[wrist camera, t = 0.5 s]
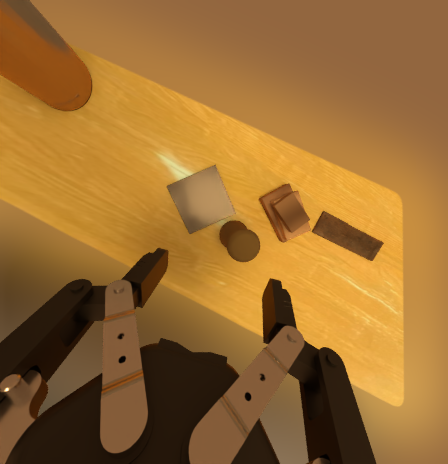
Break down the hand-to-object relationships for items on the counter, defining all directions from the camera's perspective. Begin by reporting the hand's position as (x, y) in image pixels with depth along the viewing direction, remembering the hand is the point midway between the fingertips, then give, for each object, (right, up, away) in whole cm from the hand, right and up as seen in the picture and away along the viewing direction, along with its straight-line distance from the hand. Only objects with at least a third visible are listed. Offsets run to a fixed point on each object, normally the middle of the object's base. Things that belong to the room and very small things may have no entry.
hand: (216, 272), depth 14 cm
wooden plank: (+28, +2, +27) cm, 39 cm away
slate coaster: (-4, +9, +22) cm, 24 cm away
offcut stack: (+13, +7, +24) cm, 28 cm away
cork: (+3, +2, +24) cm, 24 cm away
